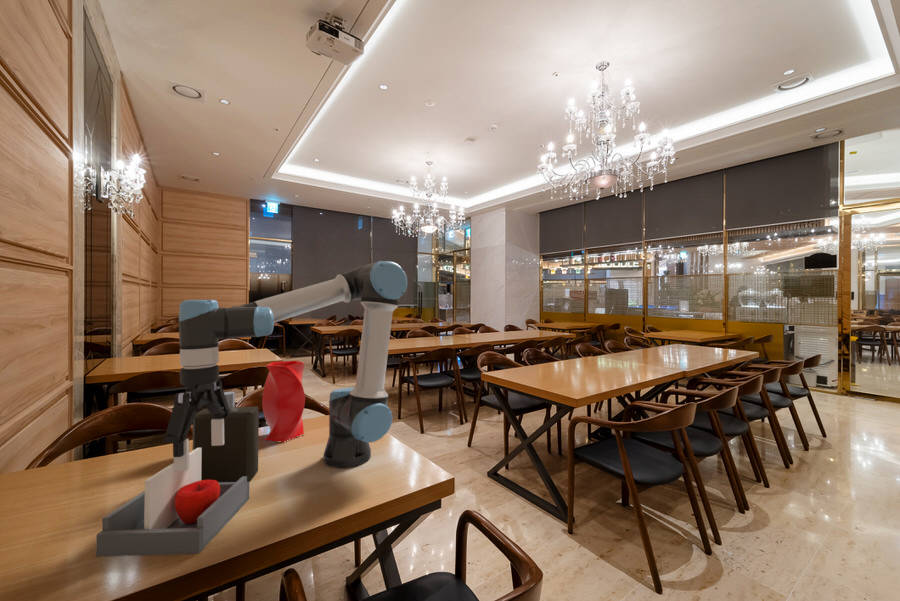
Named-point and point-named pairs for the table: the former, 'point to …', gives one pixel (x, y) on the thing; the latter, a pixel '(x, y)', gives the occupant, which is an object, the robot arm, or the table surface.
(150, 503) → the plate
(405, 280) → the robot arm
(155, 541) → the grey tray
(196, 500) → the apple
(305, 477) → the table surface
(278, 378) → the vase
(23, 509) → the table surface
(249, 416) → the bottle
